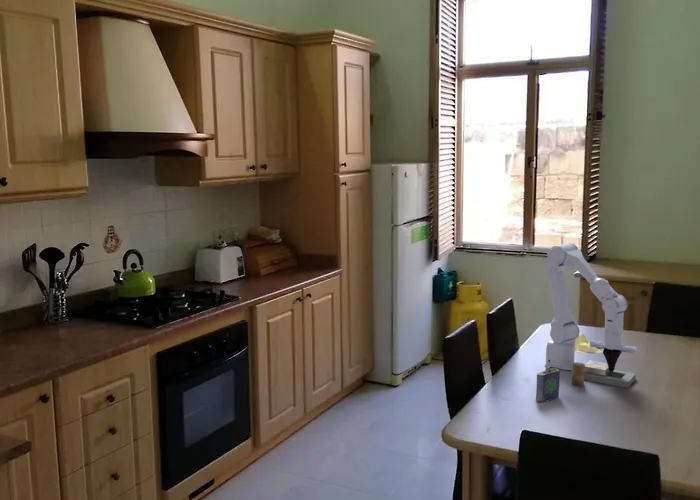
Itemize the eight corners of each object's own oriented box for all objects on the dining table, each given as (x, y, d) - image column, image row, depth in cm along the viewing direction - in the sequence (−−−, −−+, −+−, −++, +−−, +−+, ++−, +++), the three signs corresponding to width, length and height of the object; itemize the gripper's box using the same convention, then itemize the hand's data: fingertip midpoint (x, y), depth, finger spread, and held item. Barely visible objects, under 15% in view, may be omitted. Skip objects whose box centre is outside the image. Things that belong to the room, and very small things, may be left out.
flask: (540, 403, 208) (541, 370, 206) (532, 400, 210) (534, 367, 208) (560, 397, 212) (562, 364, 211) (553, 394, 215) (555, 362, 213)
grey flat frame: (572, 377, 230) (573, 371, 230) (581, 369, 238) (582, 364, 238) (628, 387, 220) (628, 382, 219) (635, 379, 228) (635, 373, 227)
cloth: (546, 350, 262) (547, 335, 261) (561, 339, 277) (562, 324, 276) (605, 360, 249) (606, 344, 248) (618, 348, 264) (619, 333, 263)
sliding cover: (582, 371, 229) (582, 366, 229) (589, 365, 235) (589, 360, 235) (605, 375, 225) (605, 370, 224) (611, 369, 231) (611, 364, 230)
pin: (569, 385, 223) (570, 364, 222) (573, 381, 226) (574, 361, 225) (581, 387, 220) (582, 367, 219) (585, 384, 224) (586, 363, 223)
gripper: (587, 331, 226) (586, 369, 228) (633, 337, 218) (631, 378, 220) (594, 326, 232) (592, 364, 234) (638, 332, 223) (636, 372, 225)
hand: (611, 370), depth 227 cm, fingers closed
